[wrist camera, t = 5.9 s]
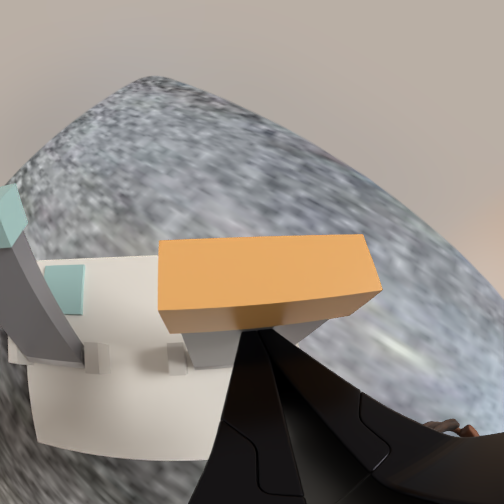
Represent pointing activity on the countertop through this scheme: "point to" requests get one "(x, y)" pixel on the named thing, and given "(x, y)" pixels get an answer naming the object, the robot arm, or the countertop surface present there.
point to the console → (122, 369)
